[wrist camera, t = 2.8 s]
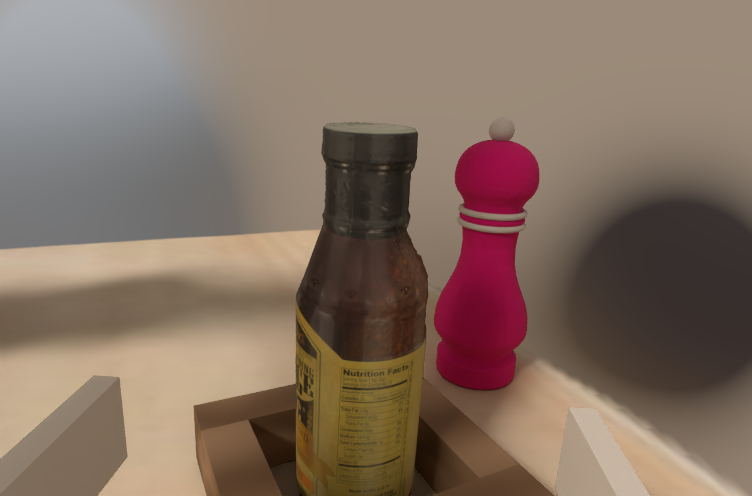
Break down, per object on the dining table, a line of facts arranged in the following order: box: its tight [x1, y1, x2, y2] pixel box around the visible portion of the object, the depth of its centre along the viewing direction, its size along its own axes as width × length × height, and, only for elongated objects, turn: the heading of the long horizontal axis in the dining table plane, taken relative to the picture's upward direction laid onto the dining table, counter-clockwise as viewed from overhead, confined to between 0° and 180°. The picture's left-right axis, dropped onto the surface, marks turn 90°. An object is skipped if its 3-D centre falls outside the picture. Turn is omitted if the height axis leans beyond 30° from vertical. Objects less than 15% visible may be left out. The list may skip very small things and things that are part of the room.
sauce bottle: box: [296, 122, 428, 496], centre depth 25 cm, size 6×6×20 cm
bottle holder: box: [194, 378, 554, 496], centre depth 27 cm, size 14×14×4 cm
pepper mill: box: [434, 118, 539, 390], centre depth 40 cm, size 7×7×20 cm
